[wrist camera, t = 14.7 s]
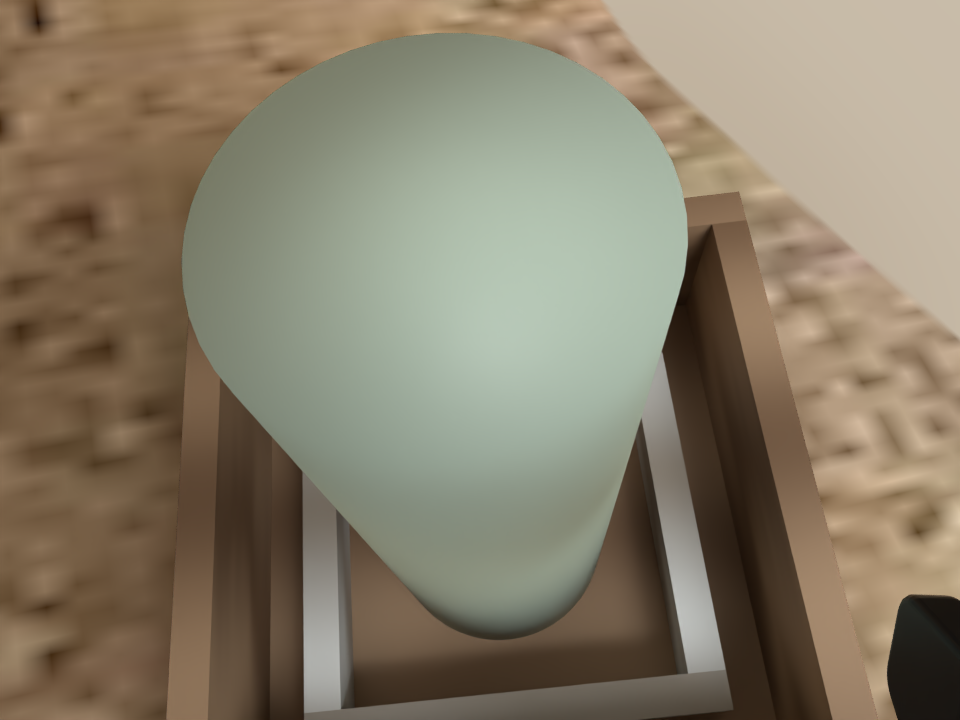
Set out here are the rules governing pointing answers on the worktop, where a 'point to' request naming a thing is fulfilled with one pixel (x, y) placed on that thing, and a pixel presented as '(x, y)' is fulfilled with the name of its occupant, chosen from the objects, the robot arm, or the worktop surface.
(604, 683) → the walnut box
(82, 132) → the worktop surface
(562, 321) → the sage peg
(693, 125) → the worktop surface
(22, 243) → the worktop surface
